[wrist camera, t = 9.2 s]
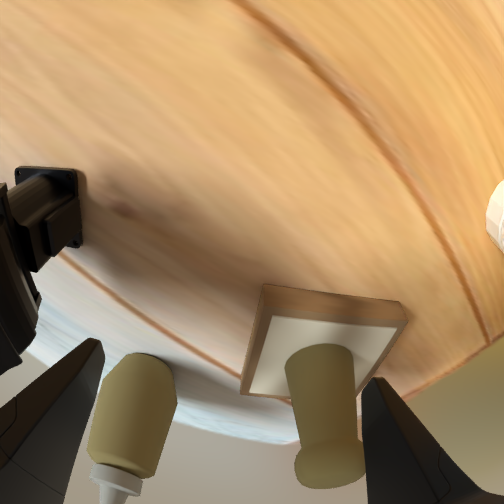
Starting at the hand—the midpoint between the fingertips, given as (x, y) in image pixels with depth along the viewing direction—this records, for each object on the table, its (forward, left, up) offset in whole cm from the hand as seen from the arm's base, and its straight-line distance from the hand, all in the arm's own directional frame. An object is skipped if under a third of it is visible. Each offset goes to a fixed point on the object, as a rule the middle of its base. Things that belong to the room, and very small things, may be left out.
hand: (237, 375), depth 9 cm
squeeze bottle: (-8, -20, -13) cm, 25 cm away
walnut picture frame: (+8, -12, -13) cm, 19 cm away
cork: (+8, -12, -10) cm, 18 cm away
